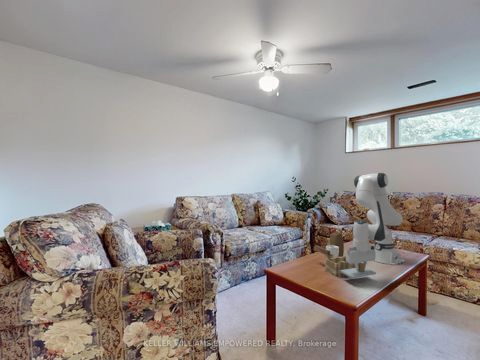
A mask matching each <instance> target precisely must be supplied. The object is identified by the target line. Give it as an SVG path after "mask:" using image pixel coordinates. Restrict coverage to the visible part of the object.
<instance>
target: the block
mask: <svg viewBox="0 0 480 360" xmlns="http://www.w3.org/2000/svg"><path fill="white" fill-rule="evenodd" d="M328 243H329V244H328V245H335V246H338V247H339V254H338V257H344V254H345V253H344V251H345V246H344V238H343V234H342V232H336V231H335V232H332V233H330V234H329V242H328Z"/></svg>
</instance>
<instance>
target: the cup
mask: <svg viewBox="0 0 480 360" xmlns="http://www.w3.org/2000/svg"><path fill="white" fill-rule="evenodd" d="M325 249H327V250H329V251H330V254H332V255H333V258H336V257H338V254H339V247H338V246H335V245H329V244H328V245H326V246H325Z"/></svg>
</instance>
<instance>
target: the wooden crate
mask: <svg viewBox="0 0 480 360" xmlns="http://www.w3.org/2000/svg"><path fill="white" fill-rule="evenodd" d="M324 263H325V267H324V269H325V272H327V273H329V274H331V275H332V276H333V277H338V278H342V277H345V276H346V275H345V274H343V273H341V270H346V269H352V268H356V266H355V264H354V263H352V264H350V263H348V262H347V261H346V255H345V256H344V255H343V257H336V258H333V255H332V254H330V256H328V255H325V261H324Z"/></svg>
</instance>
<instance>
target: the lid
mask: <svg viewBox="0 0 480 360" xmlns="http://www.w3.org/2000/svg"><path fill="white" fill-rule="evenodd" d="M358 266H359V267H360V269H358V270H357V269H356V268H352V269H346V270H341V273H343V274H345V276H347V277H349V278H350V279H357V278H362V277H368V276H373V275H377V272H376V271H374V270H372V269H370V268H368V267H366V268H365V264H363V262H359V263H358Z"/></svg>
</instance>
